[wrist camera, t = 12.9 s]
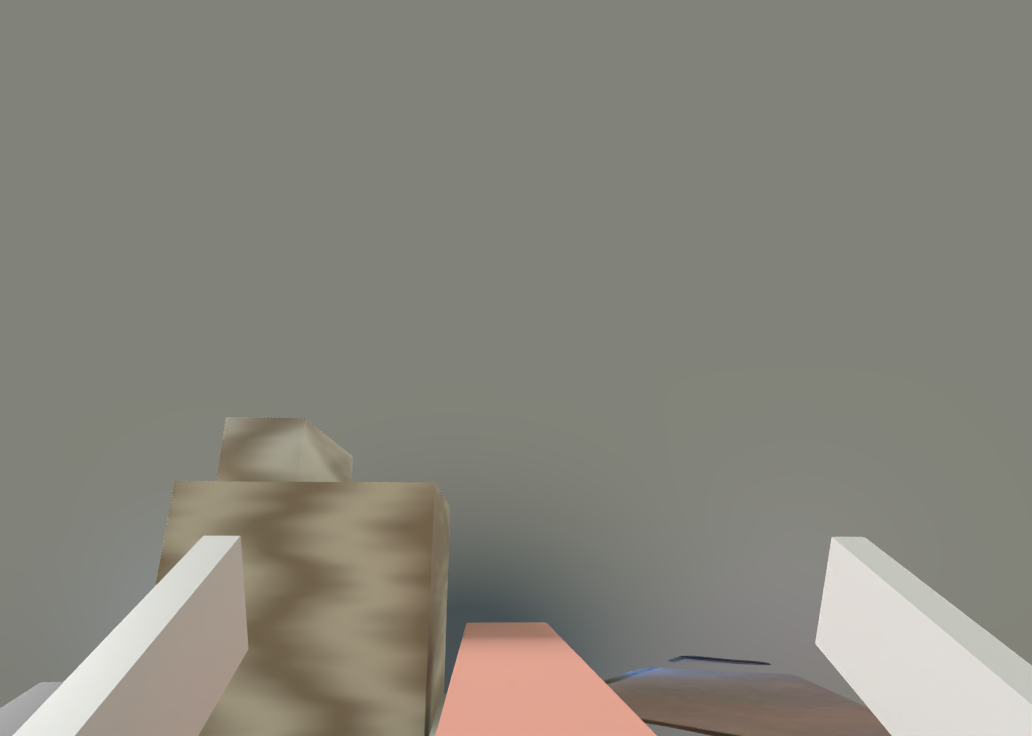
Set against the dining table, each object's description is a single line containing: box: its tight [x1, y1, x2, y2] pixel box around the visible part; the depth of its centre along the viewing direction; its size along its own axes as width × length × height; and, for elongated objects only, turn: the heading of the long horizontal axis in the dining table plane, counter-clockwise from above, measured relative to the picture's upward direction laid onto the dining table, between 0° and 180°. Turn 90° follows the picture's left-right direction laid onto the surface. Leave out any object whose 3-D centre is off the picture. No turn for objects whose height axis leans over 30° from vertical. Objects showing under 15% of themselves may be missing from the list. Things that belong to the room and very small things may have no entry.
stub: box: [435, 622, 657, 736], centre depth 18 cm, size 4×23×3 cm, turn 3°
